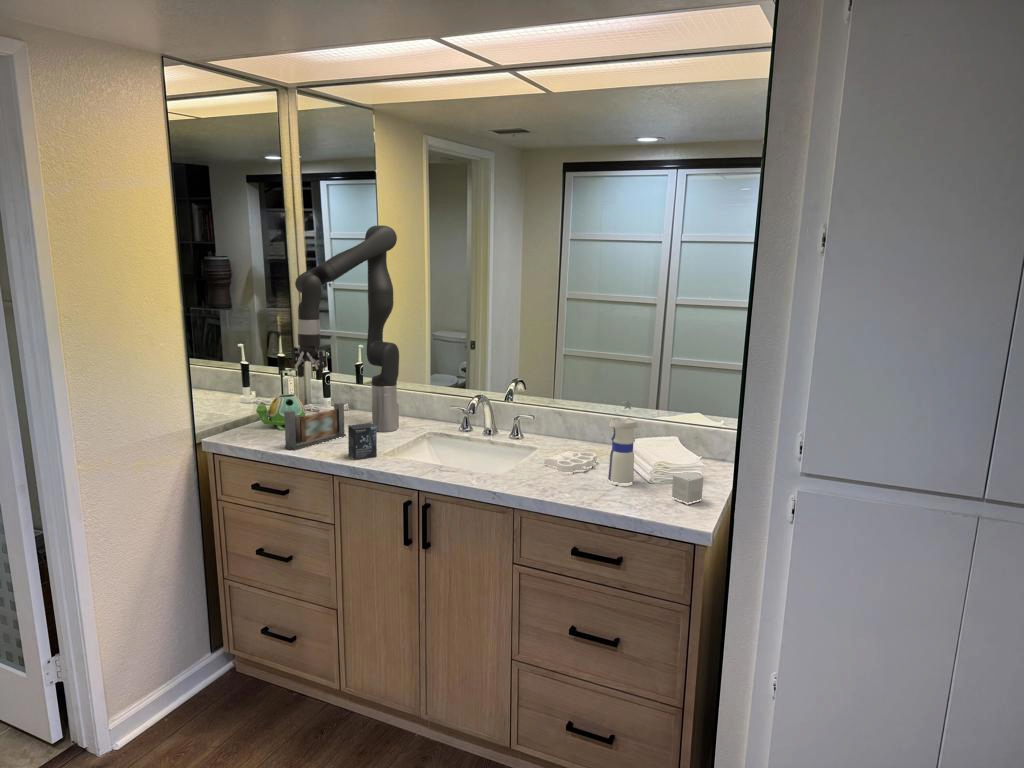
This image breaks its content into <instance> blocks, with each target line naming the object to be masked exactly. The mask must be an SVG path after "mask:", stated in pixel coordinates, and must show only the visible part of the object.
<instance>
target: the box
mask: <svg viewBox="0 0 1024 768" xmlns="http://www.w3.org/2000/svg"><path fill="white" fill-rule="evenodd" d="M347 428H348V432H347V433H348V437H347V438H348V439H347V440H348V441H347V442H348V450H347V451H348V457H350V458H351V457H352V458H353V459H352V458H351V459H352V460H354V461H356V459H357V460H361V459H362V458H363V459H368V458H377V457H378V455H377V453H378V452H377V451H378V448H377V441H378V440H377V432H378V431H377V427H376V426H375V425H373V424H372V422H366V423H358V424H348V427H347Z"/></svg>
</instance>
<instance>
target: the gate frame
mask: <svg viewBox="0 0 1024 768" xmlns="http://www.w3.org/2000/svg"><path fill="white" fill-rule="evenodd" d="M333 410H337V433H336V434H333V435H329V436H325V437H321V438H317V439H314V440H310V441H306V442H301V443H299V444H296V430H295V411H291V410H289V411H285V412H284V417H285V425H284V428H285V430H284V438H285V439H284V440H285V445H284V449H285V450H287V451H288V450H289V451H299V450H301V449H305V447H306V448H308V447H313V446H316V445H315V444H317V445H320V444H323V443H322V442H324V443H326V441H328V442H330V441H329V440H331V441H333V440H332V439H335V440H337V439H336V438H339V437H342V438H344V436H346V437H347V434H346V433H345V404H344V403H343V402H336V403H334V405H333ZM339 439H340V438H339ZM319 443H320V444H319ZM312 445H313V446H312Z"/></svg>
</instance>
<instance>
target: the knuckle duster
mask: <svg viewBox="0 0 1024 768" xmlns="http://www.w3.org/2000/svg"><path fill="white" fill-rule="evenodd" d="M597 457H598V456H597V454H596V453H594V452H590V451H583V452H575V451H570V450H569V451H565V452H562V453H560V454H556V455H554V456H551V457H548V458H546V459H544V460H543V464H544V465H545V464H547V465H551V466H556V467H557V469H556V471H557V470H558V471H562V472H573V471H575V470H586V471H588V470H587V467H590V466H594V467H597V466H598V465H597V462H596V461H597V459H598V458H597ZM594 462H596V464H595V463H594Z"/></svg>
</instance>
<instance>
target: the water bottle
mask: <svg viewBox="0 0 1024 768" xmlns="http://www.w3.org/2000/svg"><path fill="white" fill-rule="evenodd" d="M622 404H623V405H624V410H625V409H629V410H632V408H631V406H632V405H634V403H633V402H631V401H630V400H629V398H628V399H627V400H626V401H623V402H622ZM609 427H610V428H613V435H612V437H611V438H610V439H611V441H612V442H611V443H612V445H611V451H610V452H609V453H610V455H609V466H608V477H607V480H608V479H609V480H610V481H613V482H618V483H630V482H633V480H634V478H635V475H634V471H635V469H634V467H635V466H634V465H635V453H634V443H635V441H636V440H635V438H634V431H635V430H634V429H636V428H638V424H637V420H635V418H631V417H628V418H626V420H625V422H619V420H618V418H616V417H612V418H611V419H610V422H609V425H608V428H609Z"/></svg>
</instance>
